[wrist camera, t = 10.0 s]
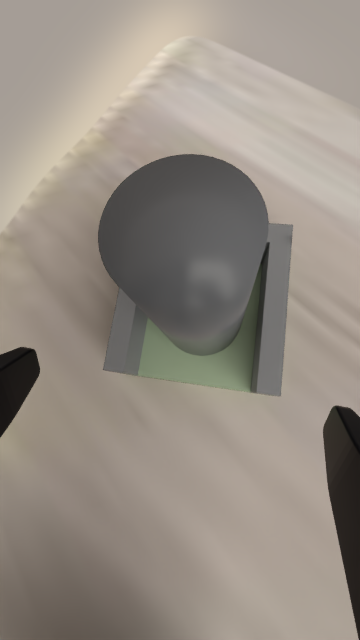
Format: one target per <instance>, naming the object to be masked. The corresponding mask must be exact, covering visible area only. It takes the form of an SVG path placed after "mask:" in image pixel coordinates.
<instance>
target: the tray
mask: <svg viewBox="0 0 360 640" xmlns="http://www.w3.org/2000/svg"><path fill="white" fill-rule="evenodd" d="M292 231H293V225H288V224H271V223H269V226H268V237H267V243H266V246H265V250H264V253H263V256H262V259H261V262H260V266H259V269H258V272H257V275H256V279H255V282H254V285H253V288H252V292H251V295H250V298H249V301H248V304H247V308H246V311H245V314H244V317H243V321H242V324H241V327H240V330H239V332H238V334H237V336H236V338H235V339H234V341H233V342H232V343H231V344H230V345H229V346H228V347H226V348H225V349H223V350H222V351H220V352H218V353H215V354H212V355H205V356H199V355H192V354H189V353H186V352H184V351H182V350H181V349H179V348H178V347H177V346H175V345H174V344H173V343H172V342H171V341H170V340H169V338H168V337H167V336H166V335H165V334H164V333H163V332H162V331H161V330H160V329H159V328H158V327H157V326H156V325H155V324H154V323H153V322H152V321H151V320H150V319H149V318H148V317H147V315H146V314H145V313H144V312H143V311H142V310H141V309H140V308H139V307H138V306H137V305H136V304H135V303H134V302H133V301H132V300H131V299H130V298H129V297H128V296H127V295H126V294H125V292H124V291H123V290H122V289H121V288H120V287H119V292H118V297H117V302H116V307H115V312H114V317H113V322H112V327H111V332H110V337H109V342H108V347H107V352H106V357H105V362H104V367H103V370H106V371H112V372H117V373H123V374H129V375H136V376H143V377H150V378H156V379H163V380H170V381H177V382H183V383H190V384H197V385H204V386H210V387H217V388H224V389H230V390H237V391H244V392H251V393H257V394H264V395H271V396H281V385H282V371H283V357H284V343H285V329H286V315H287V301H288V287H289V273H290V259H291V245H292Z"/></svg>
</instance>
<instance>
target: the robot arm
mask: <svg viewBox="0 0 360 640" xmlns="http://www.w3.org/2000/svg"><path fill="white" fill-rule="evenodd" d="M39 373H40V366H39V362H38V358H37V354H36V351H35V350H34V349H31V348H26V347H19V348H17V349H14V350H12V351H9V352H7V353H4V354H1V355H0V437H1V436H2V435H3V433H4V432H5V430H6V429H7V428H8V426H9V425H10V423H11V422H12V420H13V419H14V417H15V416H16V414H17V413H18V411H19V409H20V408H21V406H22V404H23V402H24V401H25V399H26V397H27V395H28V394H29V392H30V390H31V388H32V387H33V385H34V383H35V382H36V380H37V378H38V376H39ZM323 438H324V449H325V461H326V472H327V482H328V490H329V496H330V501H331V506H332V511H333V515H334V520H335V525H336V530H337V535H338V540H339V545H340V550H341V555H342V560H343V564H344V569H345V574H346V579H347V584H348V589H349V594H350V599H351V604H352V609H353V613H354V618H355V623H356V628H357V633H358V638H359V640H360V417H359V416H358V415H357V414H356V413H355V412H354V411H353V410H352V409H350V408H348V407H342V406H334V407H333V408H332V409H331V411H330V413H329V416H328V418H327V420H326V422H325V424H324V428H323Z"/></svg>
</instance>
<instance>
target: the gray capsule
mask: <svg viewBox="0 0 360 640" xmlns="http://www.w3.org/2000/svg"><path fill="white" fill-rule="evenodd" d="M268 226H269V221H268V214H267V209H266V206H265V202H264V200H263V198H262V196H261V193H260V192H259V190H258V189H257V187H256V186H255V184H254V183H253V182H252V181H251V180H250V178H249V177H248V176H247V175H245V174H244V173H243V172H242V171H241V170H239V169H238V168H236V167H235V166H233V165H231V164H229V163H227V162H225V161H223V160H220V159H217V158H214V157H210V156H205V155H195V154H185V155H175V156H170V157H166V158H162V159H159V160H156V161H154V162H151V163H149V164H147V165H145V166H143V167H141V168H140V169H138V170H137V171H135V172H134V173H132V174H131V175H130V176H129V177H127V178H126V179H125V180H124V181H123V182H122V183H121V184H120V185H119V186H118V187H117V189H116V190H115V191H114V193H113V194H112V195H111V197H110V199H109V200H108V202H107V204H106V206H105V208H104V211H103V213H102V216H101V220H100V225H99V231H98V243H99V251H100V255H101V258H102V261H103V264H104V266H105V268H106V270H107V272H108V273H109V275H110V277H111V278H112V279H113V280H114V282H115V283H116V284H117V285H118V286H119V287H120V288H121V289H122V290H123V291H124V292H125V294H126V295H127V296H128V297H129V298H130V299H131V300H132V301H133V302H134V303H135V304H136V305H137V306H138V307H139V308H140V309H141V310H142V311H143V312H144V313H145V314H146V315H147V317H148V318H149V319H150V320H151V321H152V322H153V323H154V324H155V325H156V326H157V327H158V328H159V329H160V330H161V331H162V332H163V333H164V334H165V335H166V336H167V337H168V338H169V340H170V341H171V342H172V343H173V344H174V345H175V346H177V347H178V348H179V349H181V350H182V351H184V352H186V353H189V354H192V355H199V356H205V355H212V354H215V353H218V352H220V351H222V350H223V349H225V348H226V347H228V346H229V345H230V344H231V343H232V342H233V341H234V339H235V338H236V336H237V334H238V332H239V330H240V327H241V324H242V321H243V317H244V314H245V311H246V308H247V304H248V301H249V298H250V295H251V292H252V288H253V285H254V282H255V279H256V275H257V272H258V269H259V266H260V262H261V259H262V256H263V253H264V250H265V246H266V243H267V237H268Z"/></svg>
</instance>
